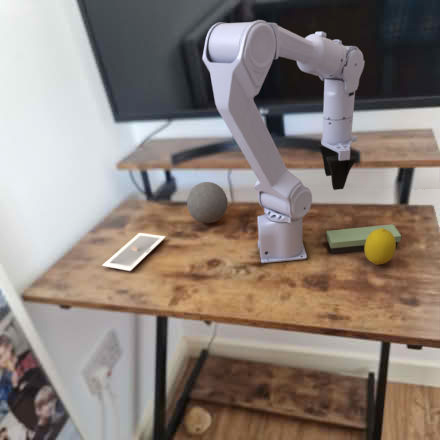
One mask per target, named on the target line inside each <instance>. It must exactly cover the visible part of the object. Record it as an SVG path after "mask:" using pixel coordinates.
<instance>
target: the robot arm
mask: <svg viewBox="0 0 440 440" xmlns="http://www.w3.org/2000/svg"><path fill="white" fill-rule="evenodd" d="M342 42H343V41H342V40H340V39H333V40H332V39H331V38H327V33H326V32H324V31H315V33H311V34H309V35H307V36H305V37H303V36H300V35H298V34H297V33H294V32H292V31H290V30H289V29H285V28H283V27H282V26H280V25H278V23H276V22H267V21H266V20H262V19H257V20H254V21H248V22H229V23H228V22H223V21H221V22H220V21H219V22H216V23H215V24H213V25H212V26H211V27H210V28H209V30H208V32H207V34H206V37H205V41H204V47H203V52H202V61H203V63H204V65H205V67H206V68H207V70H208V72H209V75H210V80H211V87H212V92H213V98H214V104H215V106H216V110H217V111H218V113H219V115H220V117H221V118H222V120H223V122H224V123H225V125H226V127H227V128H228V131H229V132H230V133H231V135H232V137H233V139H234V140H235V142H236V144H237V145H238V147H239V149H240V151H241V153H242V154H243V156H244V158H245V160H246V161H247V163H248V165H249V166H250V168H251V170H252V172H253V173H254V175H255V176H256V178H257V180H256V181H255V184H254V186H253V187H254V189H255V191H256V195H257V202H258V204H259V205H260V206H261V207H262V208H263V211H264V214H261V215H258V216H257V218H256V219H257V222H256V223H257V236H258V240H257V250H259V256H260V262H261V264H269V263H280V262H281V263H282V262H289V261H300V260H307V258H308V255H307V252H306V249H305V246H304V243H303V239H304V238H303V235H304V234H303V230H304V228H303V227H304V225H303V223H304V222H303V221H304V217H305V216H307V214H308V212H309V211H310V210H311V207H312V203H313V194H312V191H311V189H310V188H309V187H307V186H305V185H304V184H303V182H302V180H301V179H300V178H298V177H297V176H296V175H295V174H294V173H292V172H290V170H289V169H288V168H287V166H286V164H285V162H284V160H283V157H282V155H281V154H280V151H279V150H278V148H277V146H276V143H275V141H274V139H273V138H272V135H271V134H270V131H269V129H268V126H267V125H266V123H265V120H264V119H263V117H262V114H261V113H260V110H259V109H258V106H257V105H256V103H255V101H254V98H255V97H256V96H258V95H259V93H260V91H261V88H262V86H263V84H264V82H265V79H266V77H267V75H268V72H269V70H270V68H271V66H272V64H273V61H274V60H278V58H279V57H280V58H284V59H287V60H292V61H296V65H297V67H298V68H299V69H300V71H301V72H304V73H306V74H310V75H313V76H317V77H319V79H320V80H321V81H322V82H323V83H324V84H323V85H324V86H323V89H324V90H323V113H322V137H321V140H320V142H318V143H317V146H318V148H319V151H320V153H321V157H322V162H323V168H324V169H323V170H324V174H325V176H326V177H331V186H332V189H333V190H334V191H337V190H344V189H345V185H346V182H347V180H348V177H349V173H350V171H351V169H352V167H353V166H354V164H355V163H356V161H357V157H356V155H355V154H353V155H351V146H352V143H355V142H357V141H358V136H357V135H354V134H353V132H352V131H353V121H354V109H355V97H356V91H357V90H358V87H359V84H360V78H361V76H362V73H363V71H364V68H365V62H366V61H365V60H364V54H363V52H362V51H361V50H360V49H359V47H358V46H355V45H344V44H343V43H342ZM352 134H353V135H352Z"/></svg>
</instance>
